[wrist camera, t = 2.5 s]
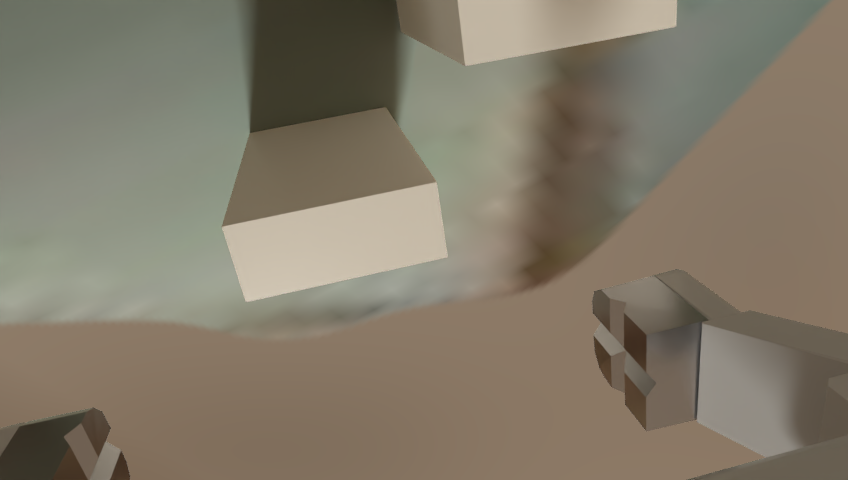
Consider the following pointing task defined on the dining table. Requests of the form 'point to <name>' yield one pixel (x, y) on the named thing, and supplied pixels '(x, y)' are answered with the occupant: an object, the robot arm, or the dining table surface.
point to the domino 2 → (526, 24)
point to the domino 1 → (330, 205)
